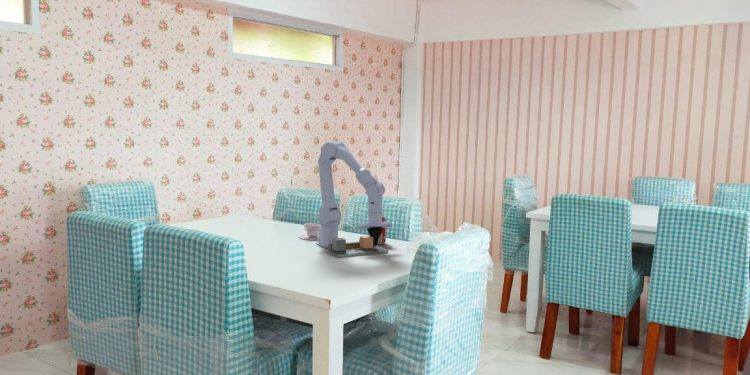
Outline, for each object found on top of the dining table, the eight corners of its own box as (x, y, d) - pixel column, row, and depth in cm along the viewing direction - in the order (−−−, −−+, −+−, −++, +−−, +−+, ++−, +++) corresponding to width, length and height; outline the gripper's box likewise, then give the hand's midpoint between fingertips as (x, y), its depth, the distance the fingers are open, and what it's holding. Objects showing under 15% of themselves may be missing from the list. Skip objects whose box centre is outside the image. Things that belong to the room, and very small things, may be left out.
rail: (328, 248, 259) (328, 244, 258) (372, 245, 268) (372, 240, 267) (330, 249, 257) (330, 244, 257) (374, 246, 266) (374, 241, 266)
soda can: (384, 245, 272) (384, 217, 271) (368, 244, 274) (368, 217, 273) (387, 242, 279) (387, 215, 278) (371, 241, 281) (371, 214, 279)
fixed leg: (329, 249, 258) (329, 237, 257) (338, 248, 260) (338, 236, 259) (336, 252, 251) (336, 240, 251) (345, 251, 253) (346, 239, 253)
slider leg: (356, 246, 263) (356, 235, 263) (365, 246, 265) (365, 234, 264) (364, 250, 257) (364, 238, 256) (373, 249, 259) (373, 237, 258)
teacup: (331, 237, 290) (331, 224, 290) (314, 241, 280) (314, 227, 280) (310, 234, 297) (310, 221, 296) (293, 238, 287) (293, 224, 286)
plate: (326, 251, 258) (326, 249, 258) (374, 247, 268) (374, 244, 268) (338, 257, 248) (338, 254, 247) (388, 252, 257) (388, 250, 257)
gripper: (363, 214, 253) (362, 248, 254) (395, 212, 259) (394, 245, 261) (355, 212, 259) (355, 245, 261) (387, 210, 266) (386, 242, 267)
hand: (374, 245), depth 261 cm, fingers closed
